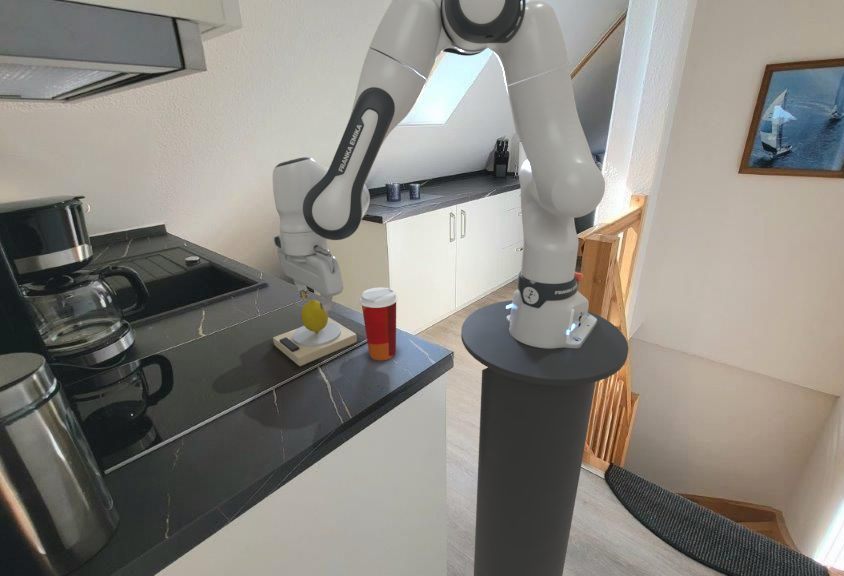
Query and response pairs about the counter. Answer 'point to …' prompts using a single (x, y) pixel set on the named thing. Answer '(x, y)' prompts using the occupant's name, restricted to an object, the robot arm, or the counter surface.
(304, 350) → the scale
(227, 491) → the counter surface
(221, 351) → the counter surface
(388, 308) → the paper cup
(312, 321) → the lemon
